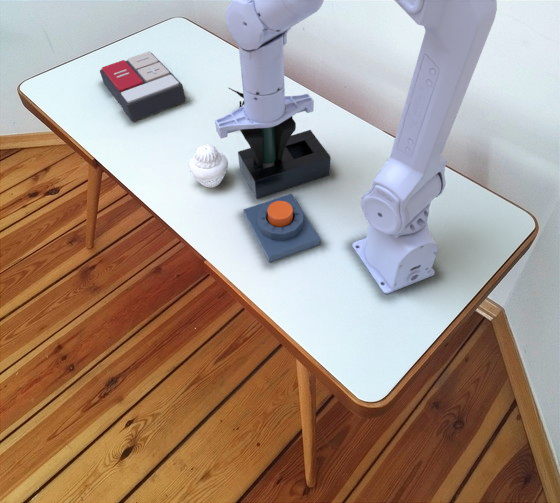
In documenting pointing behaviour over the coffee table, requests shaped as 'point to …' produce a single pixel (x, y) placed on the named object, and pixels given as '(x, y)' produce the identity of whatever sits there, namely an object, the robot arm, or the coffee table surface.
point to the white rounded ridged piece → (208, 166)
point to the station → (281, 230)
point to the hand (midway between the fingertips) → (267, 159)
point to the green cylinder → (268, 146)
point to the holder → (287, 166)
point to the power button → (280, 213)
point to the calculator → (142, 85)
